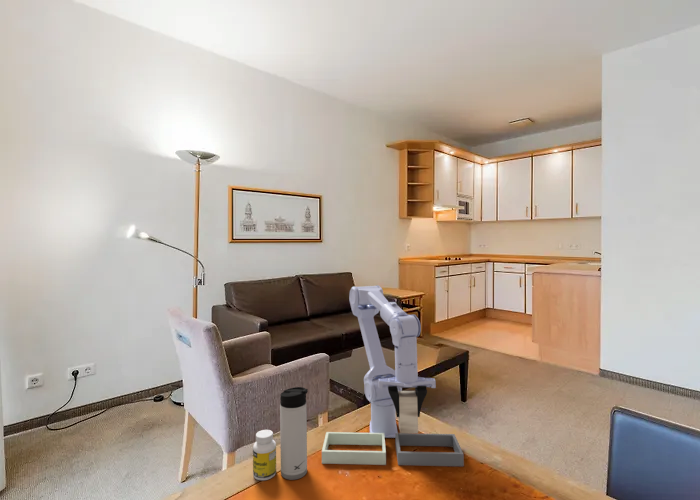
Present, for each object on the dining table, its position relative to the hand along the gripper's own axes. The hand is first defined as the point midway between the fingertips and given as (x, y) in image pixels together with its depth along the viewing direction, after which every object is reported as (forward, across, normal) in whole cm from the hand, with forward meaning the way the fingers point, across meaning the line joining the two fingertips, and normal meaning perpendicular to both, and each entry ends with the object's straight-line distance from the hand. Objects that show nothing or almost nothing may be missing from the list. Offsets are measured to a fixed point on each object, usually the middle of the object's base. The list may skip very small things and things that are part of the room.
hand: (407, 415), depth 96 cm
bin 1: (+10, -14, +1) cm, 17 cm away
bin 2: (+10, +5, +1) cm, 12 cm away
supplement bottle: (+10, -35, -8) cm, 38 cm away
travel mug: (+10, -28, -7) cm, 31 cm away
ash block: (+3, 0, 0) cm, 3 cm away
